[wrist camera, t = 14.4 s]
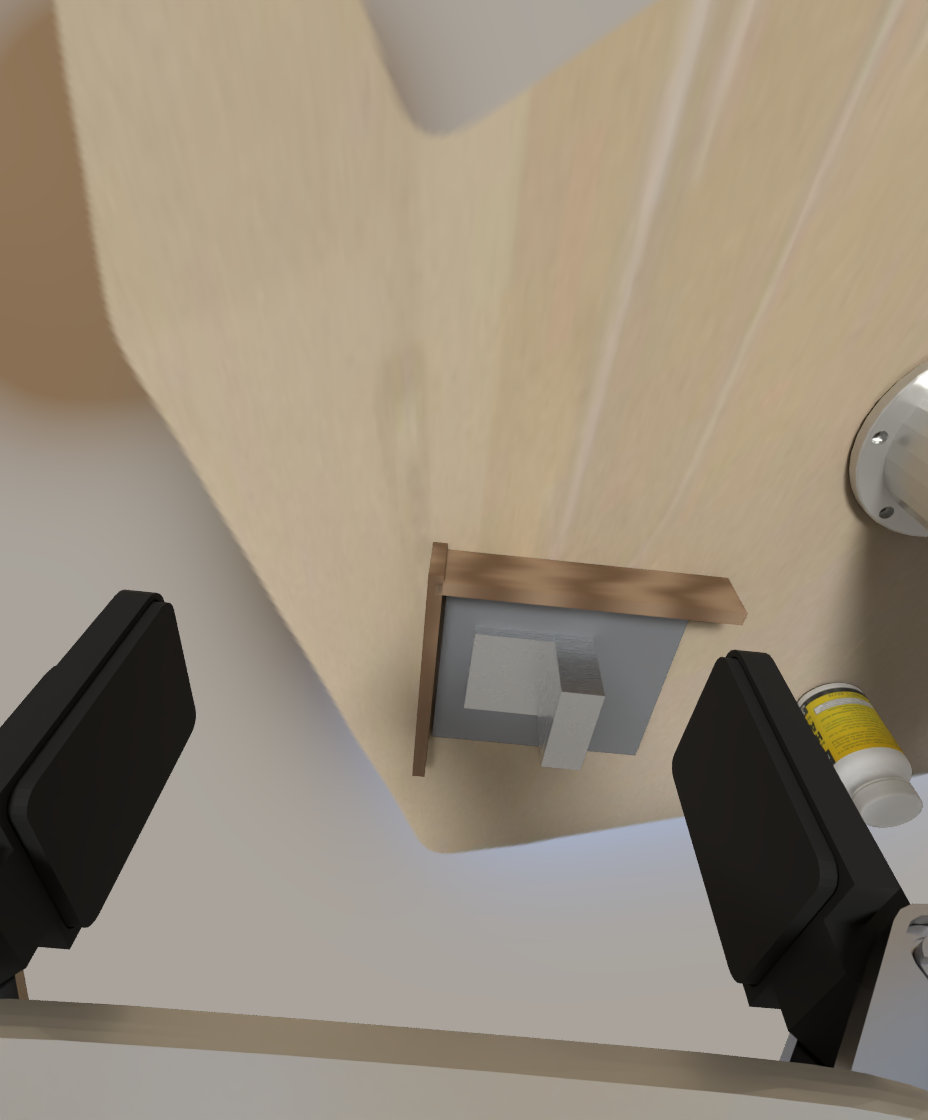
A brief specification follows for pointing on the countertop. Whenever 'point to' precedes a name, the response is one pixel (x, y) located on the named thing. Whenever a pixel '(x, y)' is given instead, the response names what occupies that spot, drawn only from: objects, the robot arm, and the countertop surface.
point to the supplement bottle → (862, 754)
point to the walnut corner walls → (559, 600)
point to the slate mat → (620, 639)
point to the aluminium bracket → (539, 687)
